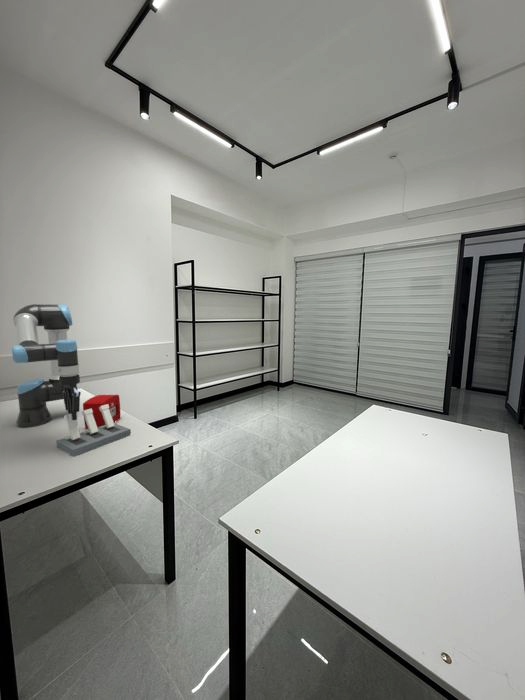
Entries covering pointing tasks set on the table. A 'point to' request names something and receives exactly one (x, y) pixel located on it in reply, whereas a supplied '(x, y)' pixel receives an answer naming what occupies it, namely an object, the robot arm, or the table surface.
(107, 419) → the handle
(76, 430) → the handle
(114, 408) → the fire alarm
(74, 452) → the breaker panel
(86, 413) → the handle
